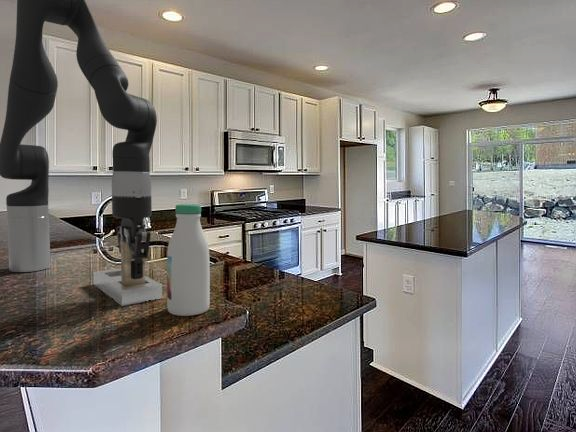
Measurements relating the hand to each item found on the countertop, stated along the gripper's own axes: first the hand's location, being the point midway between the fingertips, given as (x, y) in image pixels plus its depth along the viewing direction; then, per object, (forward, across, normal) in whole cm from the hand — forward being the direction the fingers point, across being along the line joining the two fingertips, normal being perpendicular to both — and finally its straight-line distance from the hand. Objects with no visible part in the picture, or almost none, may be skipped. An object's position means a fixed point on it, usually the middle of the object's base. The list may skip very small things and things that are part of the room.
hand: (133, 276), depth 79 cm
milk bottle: (+5, +15, +5) cm, 16 cm away
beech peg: (+2, 0, 0) cm, 2 cm away
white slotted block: (+4, -5, 0) cm, 7 cm away
